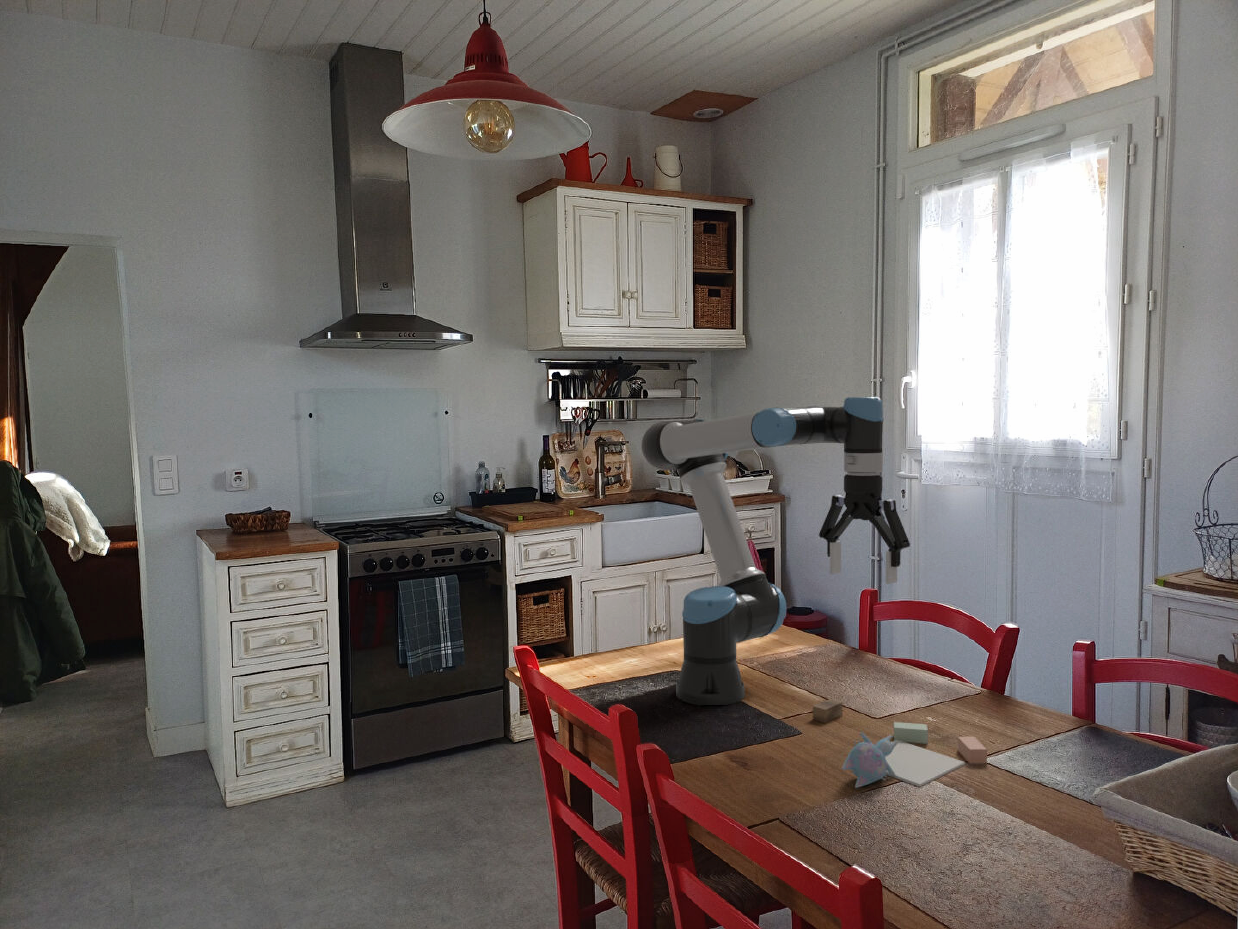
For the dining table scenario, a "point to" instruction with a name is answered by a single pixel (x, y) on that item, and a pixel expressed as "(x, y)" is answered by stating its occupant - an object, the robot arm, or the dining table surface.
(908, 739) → the brick
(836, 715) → the brick
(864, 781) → the toy
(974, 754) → the brick
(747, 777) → the dining table surface
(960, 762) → the tile
